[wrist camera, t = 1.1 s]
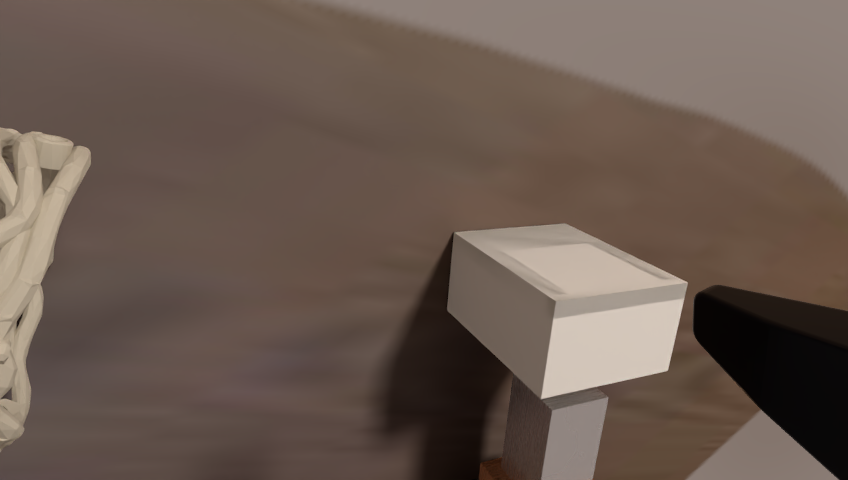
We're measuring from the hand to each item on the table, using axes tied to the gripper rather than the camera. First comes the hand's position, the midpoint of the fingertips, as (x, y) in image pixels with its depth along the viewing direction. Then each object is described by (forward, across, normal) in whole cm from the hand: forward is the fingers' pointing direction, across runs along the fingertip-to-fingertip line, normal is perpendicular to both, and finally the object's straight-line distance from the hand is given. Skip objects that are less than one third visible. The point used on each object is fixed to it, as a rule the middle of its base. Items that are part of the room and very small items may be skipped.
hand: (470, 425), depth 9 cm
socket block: (+13, -7, +8) cm, 17 cm away
